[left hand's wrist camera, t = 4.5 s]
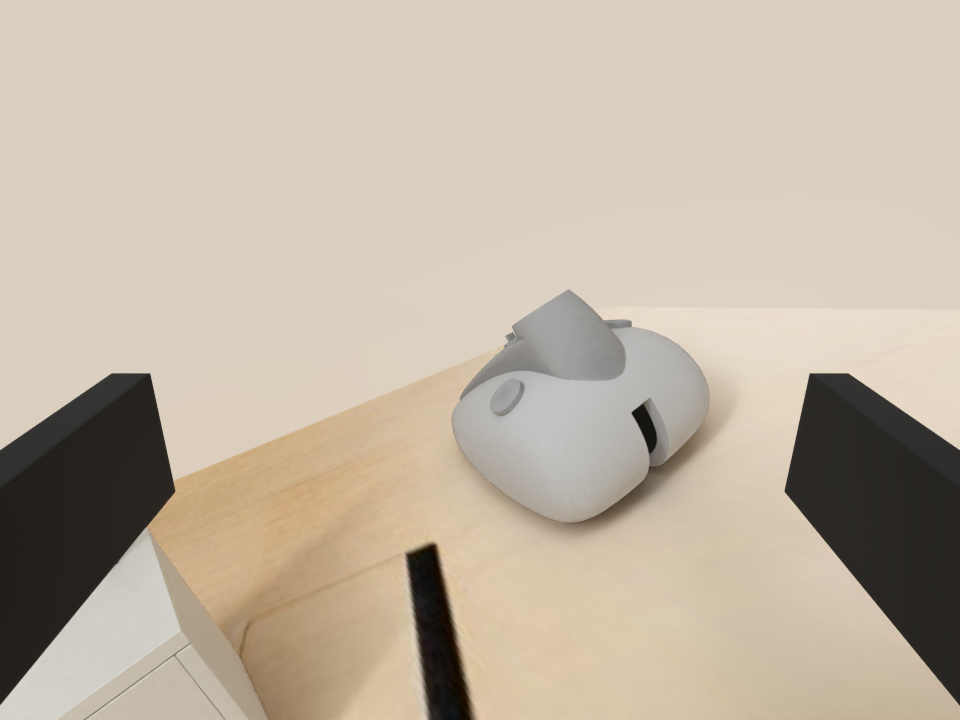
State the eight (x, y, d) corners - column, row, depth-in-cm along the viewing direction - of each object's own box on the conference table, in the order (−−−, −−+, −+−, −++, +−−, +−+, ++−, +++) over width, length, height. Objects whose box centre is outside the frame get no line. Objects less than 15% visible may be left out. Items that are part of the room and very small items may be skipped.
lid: (-17, 644, 35) (-125, 530, 32) (154, 537, 40) (74, 427, 36) (-49, 817, 24) (-219, 670, 21) (191, 642, 29) (82, 498, 25)
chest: (94, 765, 39) (-17, 649, 35) (238, 654, 43) (155, 540, 39) (108, 952, 28) (-49, 817, 24) (297, 781, 33) (191, 643, 29)
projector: (686, 356, 58) (649, 209, 52) (755, 519, 37) (707, 305, 32) (469, 413, 63) (414, 285, 58) (426, 581, 43) (335, 408, 37)
